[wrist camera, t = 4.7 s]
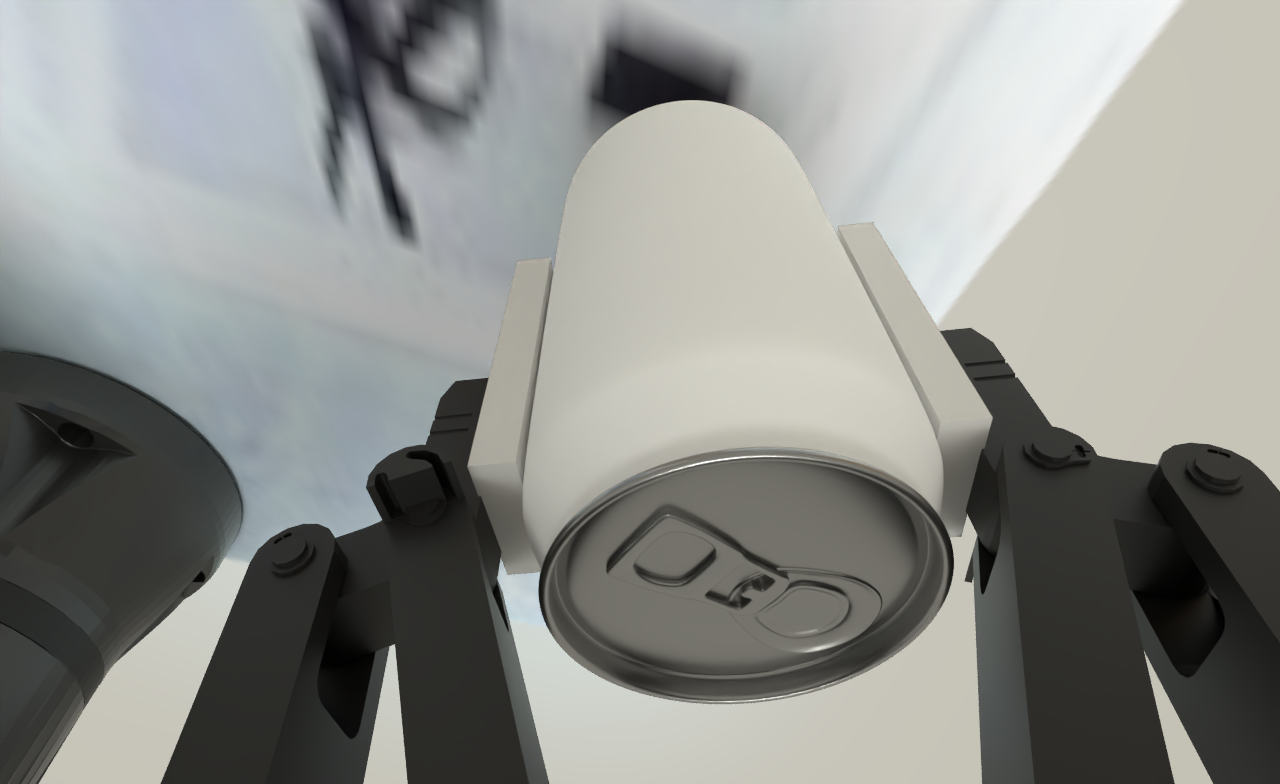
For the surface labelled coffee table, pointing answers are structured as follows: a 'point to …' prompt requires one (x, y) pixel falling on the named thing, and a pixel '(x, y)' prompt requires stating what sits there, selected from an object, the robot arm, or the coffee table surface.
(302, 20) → the coffee table surface
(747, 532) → the can
